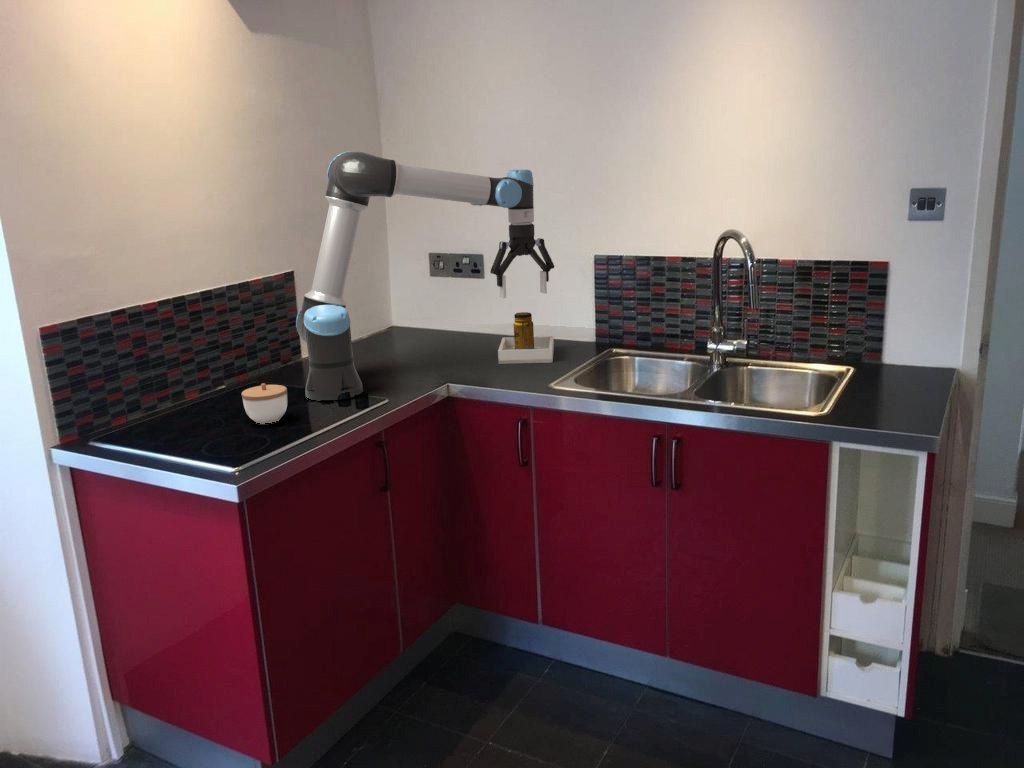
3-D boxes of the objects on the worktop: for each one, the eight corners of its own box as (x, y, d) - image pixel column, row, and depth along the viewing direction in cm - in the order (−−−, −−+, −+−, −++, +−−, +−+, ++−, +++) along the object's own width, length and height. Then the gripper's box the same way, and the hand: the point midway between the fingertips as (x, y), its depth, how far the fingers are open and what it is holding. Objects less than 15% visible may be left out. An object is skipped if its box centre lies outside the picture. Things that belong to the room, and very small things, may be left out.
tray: (498, 363, 265) (497, 350, 264) (503, 350, 282) (502, 337, 281) (552, 362, 264) (552, 349, 263) (553, 348, 281) (553, 336, 280)
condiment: (509, 351, 275) (507, 313, 272) (533, 347, 279) (531, 309, 276) (521, 355, 269) (519, 316, 266) (545, 351, 273) (543, 313, 270)
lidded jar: (236, 423, 219) (231, 386, 216) (272, 411, 227) (267, 376, 225) (263, 429, 212) (258, 392, 210) (299, 418, 221) (295, 381, 218)
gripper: (488, 227, 254) (491, 301, 259) (564, 221, 264) (565, 292, 270) (477, 225, 260) (480, 297, 266) (552, 220, 271) (553, 289, 276)
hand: (523, 295), depth 268 cm, fingers open, 13 cm apart
